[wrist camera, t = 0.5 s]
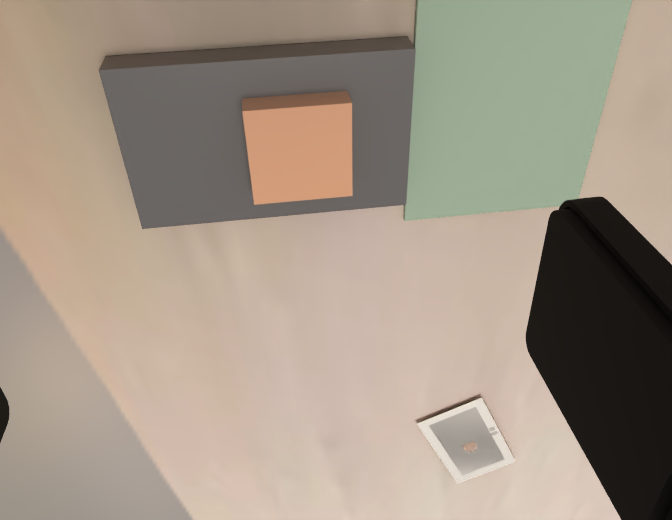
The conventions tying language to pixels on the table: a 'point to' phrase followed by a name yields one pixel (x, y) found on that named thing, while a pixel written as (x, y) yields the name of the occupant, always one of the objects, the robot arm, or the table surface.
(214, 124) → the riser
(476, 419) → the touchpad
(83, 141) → the table surface
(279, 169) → the terracotta tile
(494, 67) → the mat
